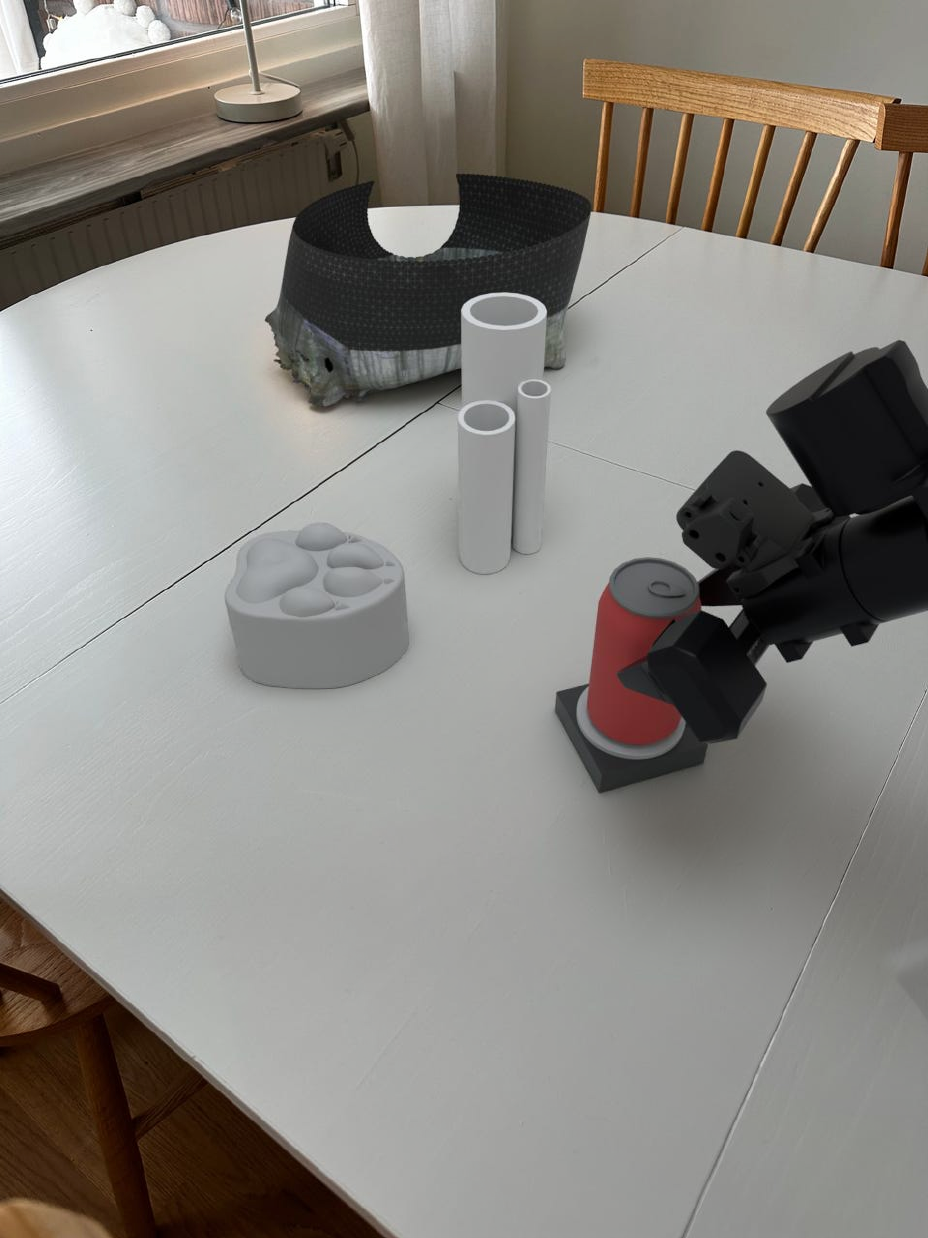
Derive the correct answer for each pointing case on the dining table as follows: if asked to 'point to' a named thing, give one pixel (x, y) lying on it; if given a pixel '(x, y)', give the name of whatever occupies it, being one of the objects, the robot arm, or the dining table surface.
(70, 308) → the dining table surface
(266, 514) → the dining table surface
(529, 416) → the vase
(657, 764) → the scale
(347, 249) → the basket
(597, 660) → the beer can
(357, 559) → the lumpy-topped squat cylinder
